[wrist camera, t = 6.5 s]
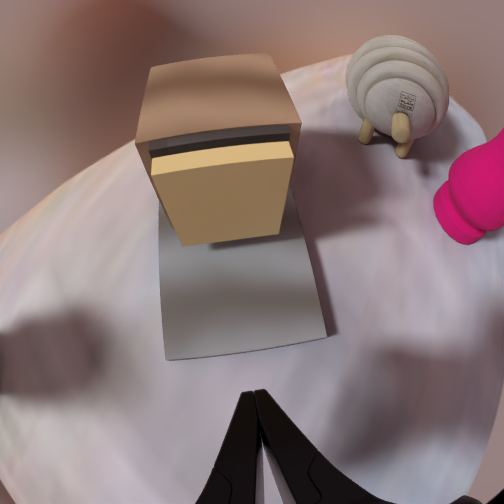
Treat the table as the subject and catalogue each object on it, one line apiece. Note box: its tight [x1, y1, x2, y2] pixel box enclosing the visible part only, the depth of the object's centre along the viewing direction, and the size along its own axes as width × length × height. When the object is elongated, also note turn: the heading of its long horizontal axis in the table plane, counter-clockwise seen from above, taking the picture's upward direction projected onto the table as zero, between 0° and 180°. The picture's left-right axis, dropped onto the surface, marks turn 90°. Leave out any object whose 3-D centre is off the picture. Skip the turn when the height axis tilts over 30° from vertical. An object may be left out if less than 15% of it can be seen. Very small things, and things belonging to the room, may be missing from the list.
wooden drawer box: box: [135, 53, 327, 361], centre depth 17 cm, size 18×10×9 cm, turn 9°
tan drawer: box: [151, 141, 294, 247], centre depth 17 cm, size 11×6×7 cm, turn 9°
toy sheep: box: [346, 35, 449, 158], centre depth 21 cm, size 11×17×11 cm, turn 165°
